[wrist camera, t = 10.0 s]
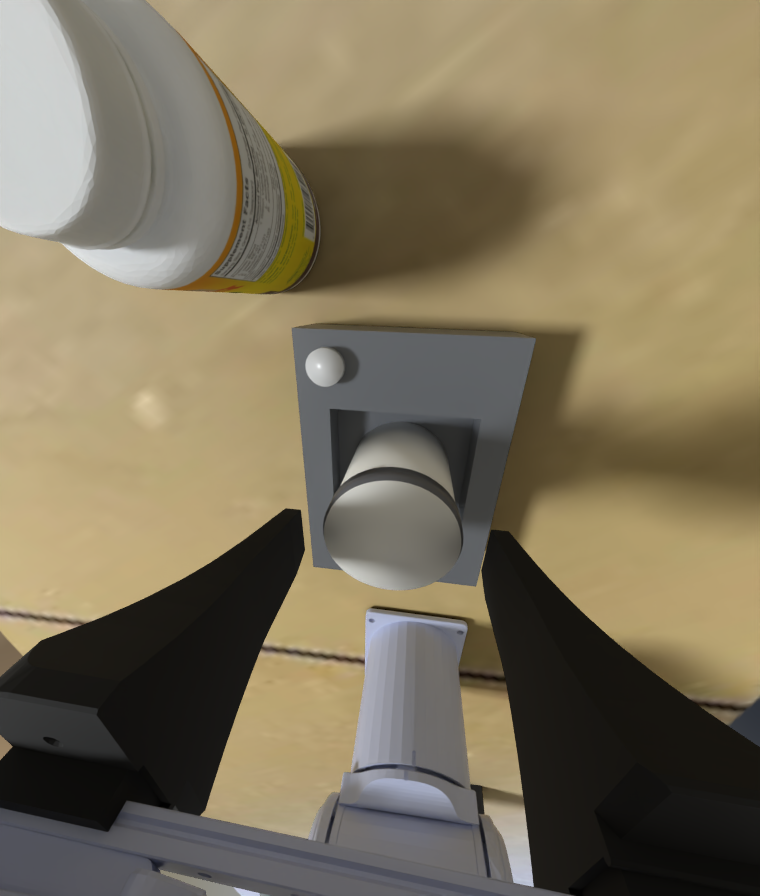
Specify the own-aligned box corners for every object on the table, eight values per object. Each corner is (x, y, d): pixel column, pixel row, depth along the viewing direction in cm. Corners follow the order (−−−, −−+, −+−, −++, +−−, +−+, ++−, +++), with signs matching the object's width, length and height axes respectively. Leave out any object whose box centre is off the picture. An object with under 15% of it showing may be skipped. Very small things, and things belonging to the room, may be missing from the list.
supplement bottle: (191, 240, 15) (-199, 130, 5) (242, 113, 12) (-274, -442, 3) (285, 320, 16) (94, 344, 6) (349, 217, 13) (192, 27, 4)
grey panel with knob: (468, 549, 21) (477, 595, 17) (326, 534, 22) (310, 574, 18) (514, 332, 15) (541, 339, 11) (314, 323, 16) (286, 328, 12)
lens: (446, 507, 18) (457, 597, 12) (355, 502, 18) (328, 585, 13) (454, 421, 15) (472, 485, 10) (349, 418, 16) (314, 477, 11)
